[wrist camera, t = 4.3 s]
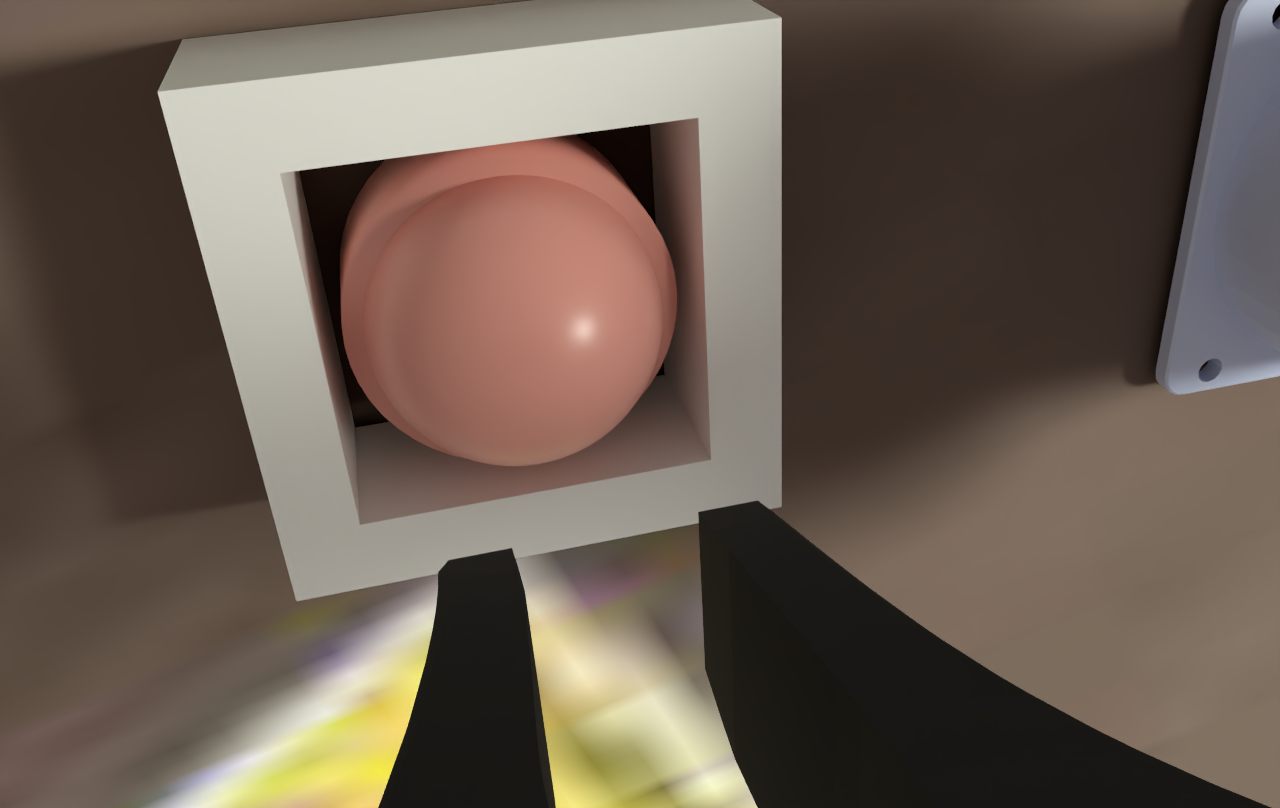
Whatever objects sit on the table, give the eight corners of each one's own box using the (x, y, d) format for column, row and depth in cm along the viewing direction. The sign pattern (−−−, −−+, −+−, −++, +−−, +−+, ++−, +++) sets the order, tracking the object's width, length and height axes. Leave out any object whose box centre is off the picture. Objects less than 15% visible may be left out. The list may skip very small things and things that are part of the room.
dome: (633, 93, 18) (714, 181, 15) (651, 370, 21) (723, 506, 17) (310, 133, 17) (307, 238, 14) (370, 418, 20) (381, 572, 16)
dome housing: (716, -21, 18) (781, 17, 15) (728, 419, 22) (782, 506, 20) (182, 39, 17) (157, 91, 14) (299, 496, 21) (296, 601, 18)
